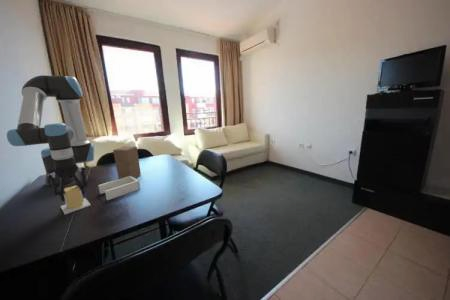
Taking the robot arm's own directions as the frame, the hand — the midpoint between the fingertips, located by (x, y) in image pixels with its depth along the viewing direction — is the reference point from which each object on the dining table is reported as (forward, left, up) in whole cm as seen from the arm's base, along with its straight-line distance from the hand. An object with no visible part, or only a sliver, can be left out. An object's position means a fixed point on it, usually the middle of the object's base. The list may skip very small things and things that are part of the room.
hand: (75, 203), depth 91 cm
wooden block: (-18, +33, -2) cm, 38 cm away
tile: (0, 0, -1) cm, 1 cm away
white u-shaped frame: (0, +21, -1) cm, 21 cm away
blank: (0, 0, -1) cm, 1 cm away
